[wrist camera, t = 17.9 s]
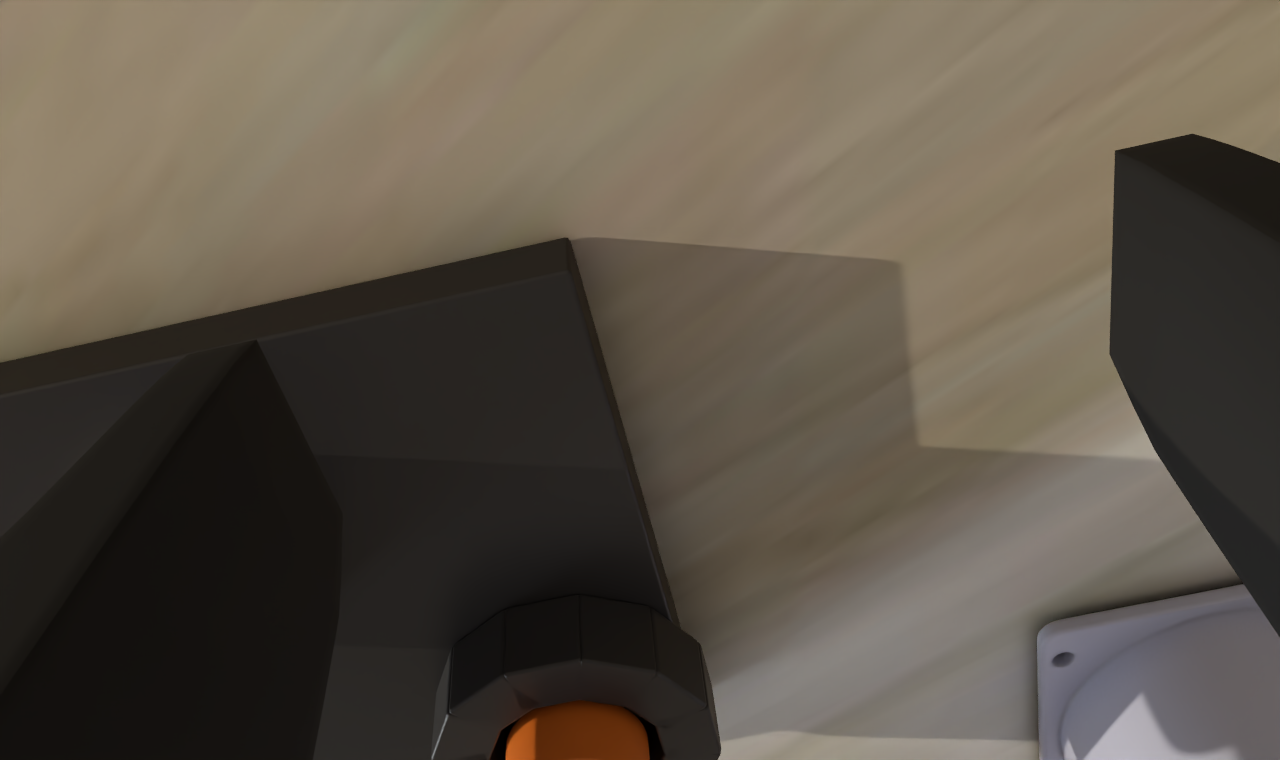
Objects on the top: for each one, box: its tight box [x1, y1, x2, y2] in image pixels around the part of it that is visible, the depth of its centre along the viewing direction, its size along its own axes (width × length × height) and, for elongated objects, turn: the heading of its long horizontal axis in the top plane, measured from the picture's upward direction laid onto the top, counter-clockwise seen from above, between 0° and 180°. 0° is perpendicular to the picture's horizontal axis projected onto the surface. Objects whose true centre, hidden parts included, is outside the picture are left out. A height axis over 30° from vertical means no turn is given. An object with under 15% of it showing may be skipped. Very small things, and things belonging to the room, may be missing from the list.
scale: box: [0, 238, 721, 760], centre depth 25 cm, size 13×12×3 cm
